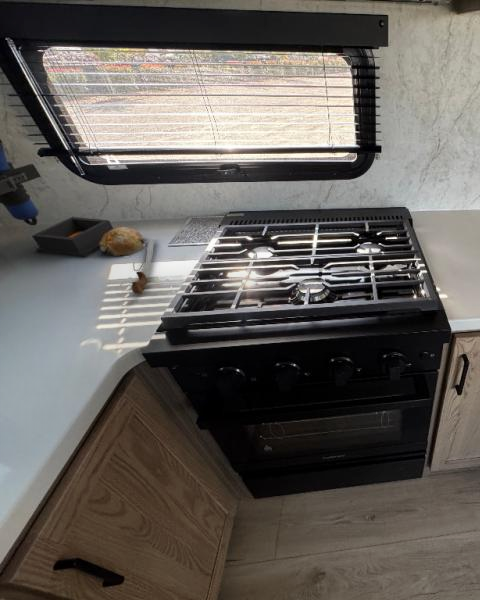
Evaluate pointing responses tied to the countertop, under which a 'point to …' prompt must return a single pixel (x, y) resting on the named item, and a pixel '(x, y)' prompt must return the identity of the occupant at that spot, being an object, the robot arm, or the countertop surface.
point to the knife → (143, 271)
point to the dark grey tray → (73, 237)
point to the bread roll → (121, 241)
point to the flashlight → (17, 197)
